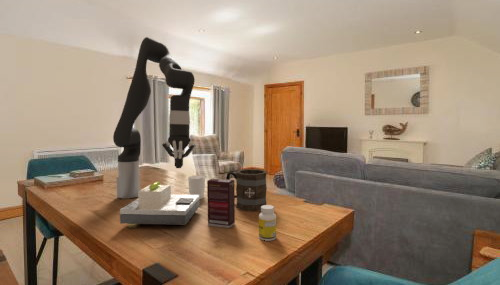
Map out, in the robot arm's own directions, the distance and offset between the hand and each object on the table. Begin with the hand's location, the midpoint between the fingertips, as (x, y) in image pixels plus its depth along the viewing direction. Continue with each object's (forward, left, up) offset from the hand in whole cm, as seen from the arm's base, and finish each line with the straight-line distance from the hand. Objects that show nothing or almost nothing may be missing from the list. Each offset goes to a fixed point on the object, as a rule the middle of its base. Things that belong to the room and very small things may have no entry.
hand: (178, 167), depth 105 cm
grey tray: (-4, -6, -18) cm, 20 cm away
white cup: (+1, +24, -18) cm, 30 cm away
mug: (+25, +13, -18) cm, 34 cm away
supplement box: (+18, -10, -18) cm, 28 cm away
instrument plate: (-4, -6, -13) cm, 15 cm away
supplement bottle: (+34, -20, -18) cm, 44 cm away
